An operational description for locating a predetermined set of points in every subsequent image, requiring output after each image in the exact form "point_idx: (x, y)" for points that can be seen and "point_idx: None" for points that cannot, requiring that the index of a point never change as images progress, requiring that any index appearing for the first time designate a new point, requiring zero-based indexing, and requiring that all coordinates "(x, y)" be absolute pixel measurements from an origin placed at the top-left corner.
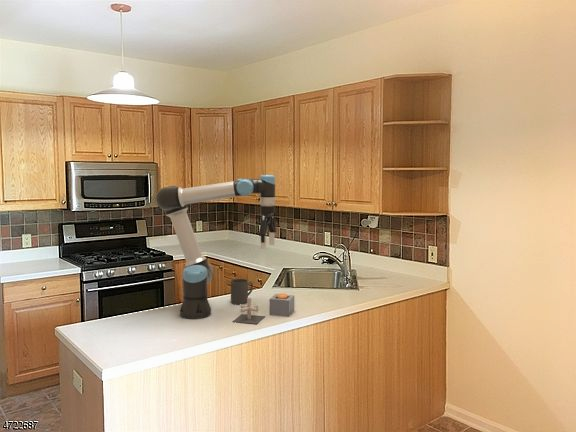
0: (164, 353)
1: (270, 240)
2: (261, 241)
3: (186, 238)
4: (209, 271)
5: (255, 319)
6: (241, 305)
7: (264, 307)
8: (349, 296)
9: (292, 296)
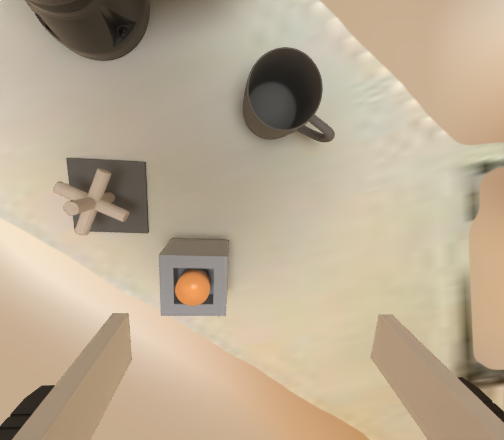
0: None
1: (404, 361)
2: (23, 405)
3: None
4: None
5: (108, 217)
6: (96, 172)
7: (238, 205)
8: (387, 383)
9: (211, 313)
